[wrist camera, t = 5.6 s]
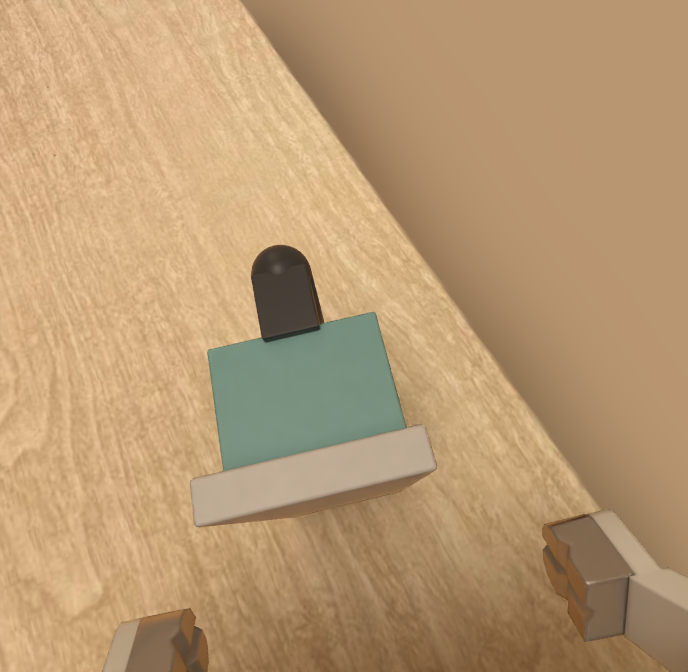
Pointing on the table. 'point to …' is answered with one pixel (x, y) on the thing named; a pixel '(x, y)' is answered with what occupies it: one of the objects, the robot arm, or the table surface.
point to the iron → (304, 409)
